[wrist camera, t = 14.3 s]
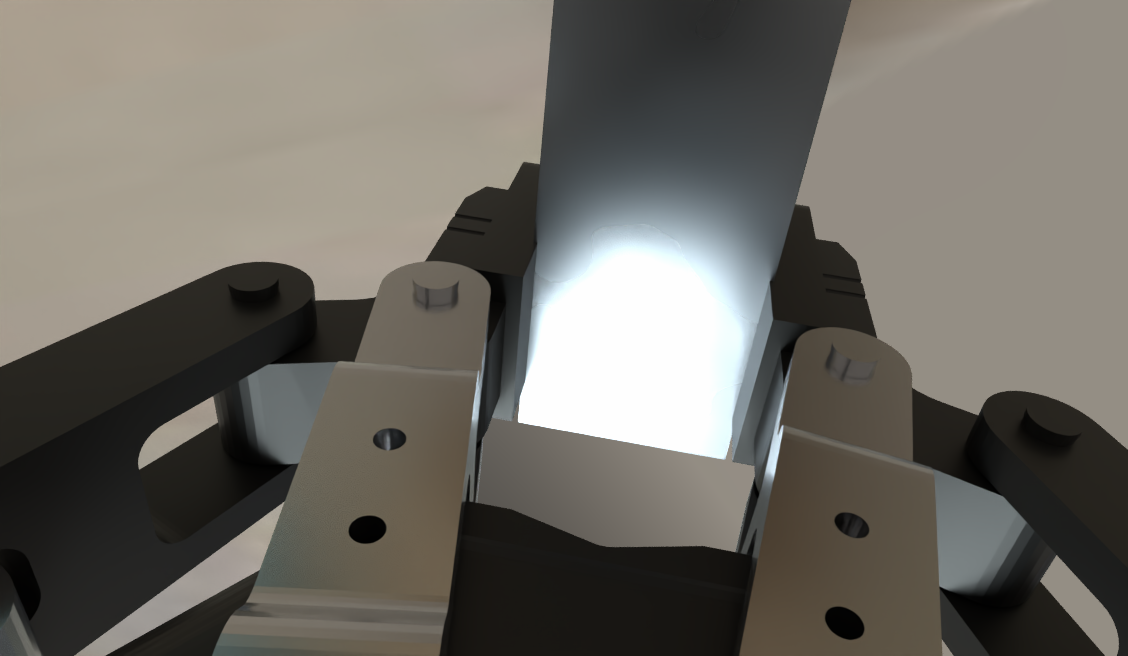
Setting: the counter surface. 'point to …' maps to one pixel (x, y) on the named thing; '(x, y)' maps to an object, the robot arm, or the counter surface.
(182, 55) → the counter surface
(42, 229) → the counter surface
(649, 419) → the metal bar
